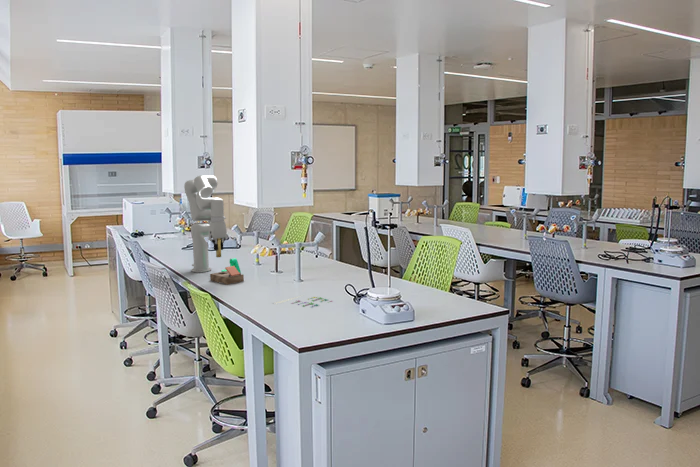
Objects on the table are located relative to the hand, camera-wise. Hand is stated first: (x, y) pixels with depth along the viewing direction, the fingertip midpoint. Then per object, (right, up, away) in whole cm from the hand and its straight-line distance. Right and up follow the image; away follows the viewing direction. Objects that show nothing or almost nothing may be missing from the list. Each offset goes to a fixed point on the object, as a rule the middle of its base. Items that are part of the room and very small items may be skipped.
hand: (218, 249), depth 341 cm
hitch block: (+5, -19, +1) cm, 19 cm away
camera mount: (+3, -17, +20) cm, 26 cm away
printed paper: (+61, -26, -51) cm, 84 cm away
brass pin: (0, -4, +1) cm, 4 cm away
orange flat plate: (+9, -13, -3) cm, 16 cm away
